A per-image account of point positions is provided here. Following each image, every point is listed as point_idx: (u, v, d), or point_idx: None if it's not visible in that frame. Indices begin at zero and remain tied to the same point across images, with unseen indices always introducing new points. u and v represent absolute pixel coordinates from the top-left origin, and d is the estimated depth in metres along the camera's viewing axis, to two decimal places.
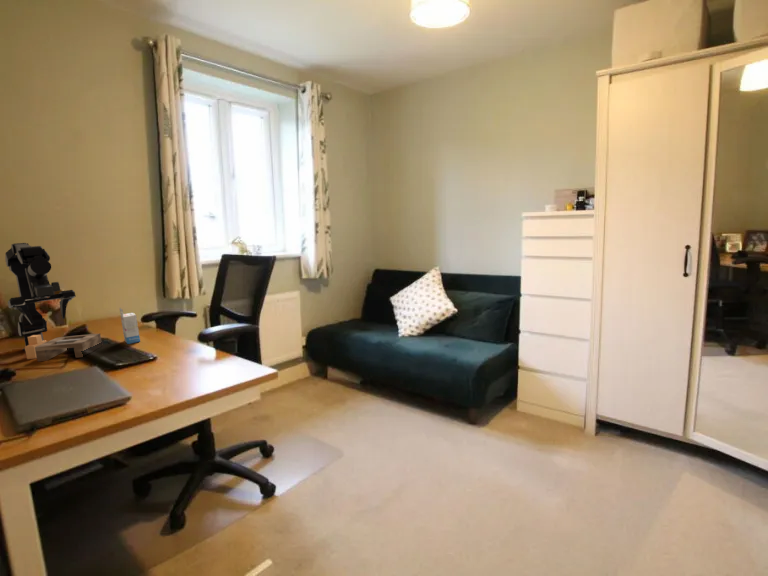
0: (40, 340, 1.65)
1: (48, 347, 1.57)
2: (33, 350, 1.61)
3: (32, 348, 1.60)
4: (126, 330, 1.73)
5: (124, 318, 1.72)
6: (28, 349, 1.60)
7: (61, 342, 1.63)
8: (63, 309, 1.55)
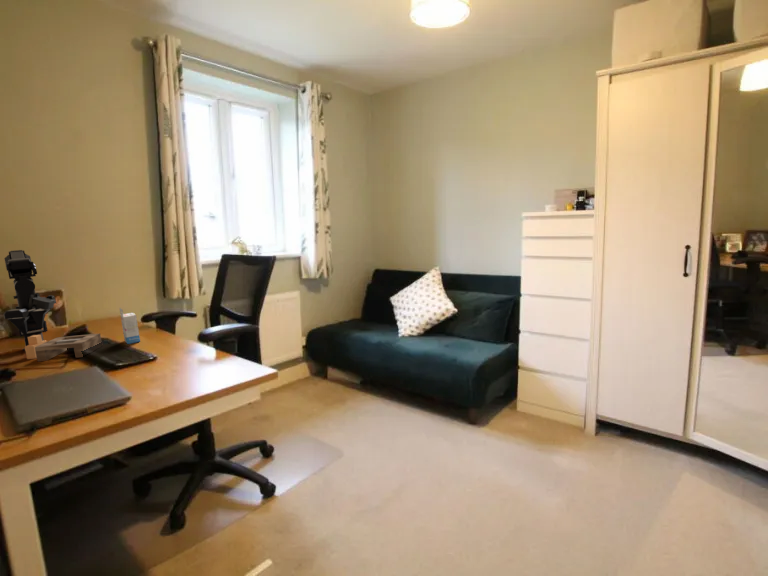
0: (40, 340, 1.65)
1: (48, 347, 1.57)
2: (33, 350, 1.61)
3: (32, 348, 1.60)
4: (126, 330, 1.73)
5: (124, 318, 1.72)
6: (28, 349, 1.60)
7: (61, 342, 1.63)
8: (43, 319, 1.68)
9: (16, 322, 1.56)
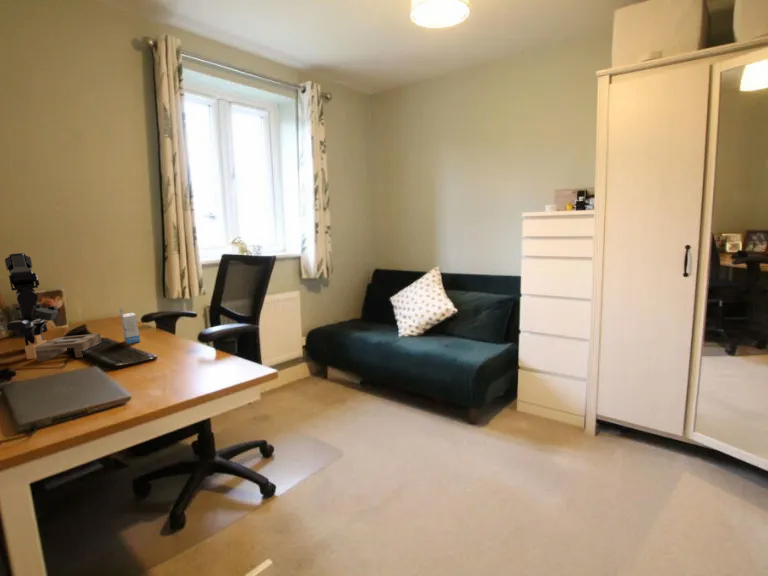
0: (40, 340, 1.65)
1: (48, 347, 1.57)
2: (33, 350, 1.61)
3: (32, 348, 1.60)
4: (126, 330, 1.73)
5: (124, 318, 1.72)
6: (28, 349, 1.60)
7: (61, 342, 1.63)
8: (40, 332, 1.66)
9: (24, 331, 1.60)
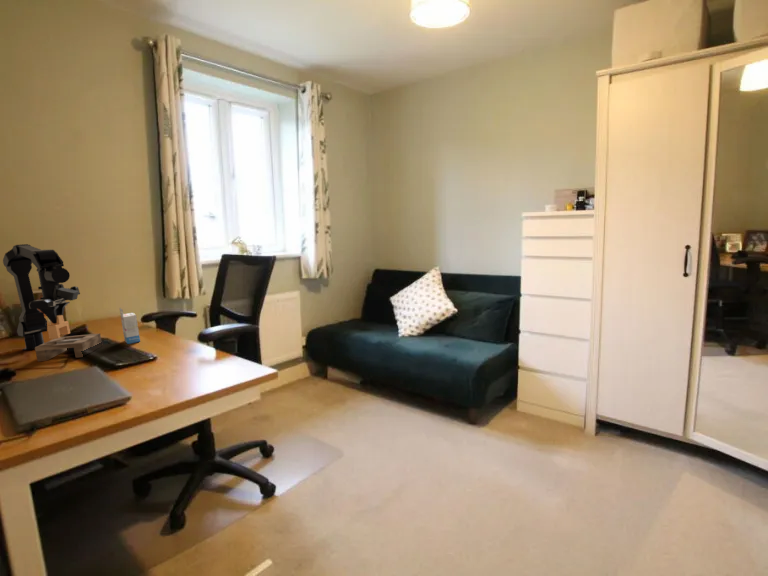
0: (62, 320, 1.63)
1: (48, 347, 1.57)
2: (55, 330, 1.59)
3: (54, 328, 1.59)
4: (126, 330, 1.73)
5: (124, 318, 1.72)
6: (50, 329, 1.59)
7: (61, 342, 1.63)
8: (62, 312, 1.64)
9: (46, 311, 1.58)
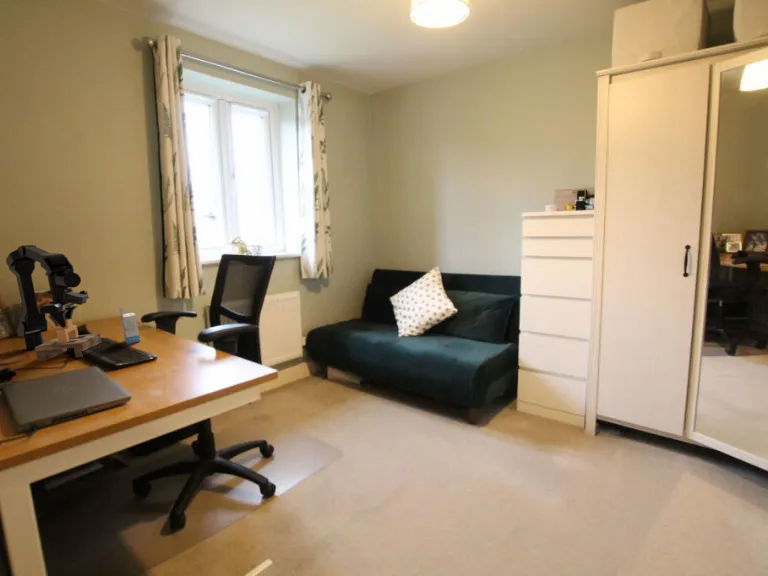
0: (71, 324, 1.64)
1: (48, 347, 1.57)
2: (64, 334, 1.60)
3: (63, 332, 1.60)
4: (126, 330, 1.73)
5: (124, 318, 1.72)
6: (59, 333, 1.59)
7: None
8: (71, 316, 1.65)
9: (55, 315, 1.59)
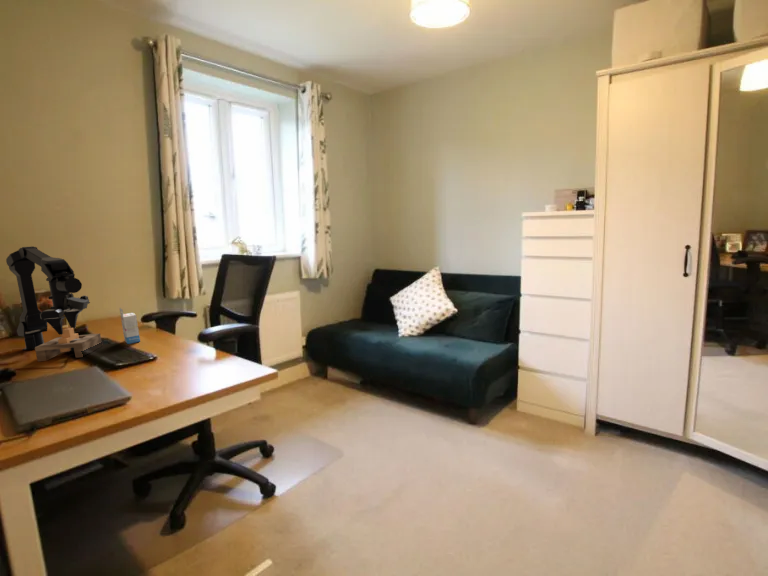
0: (72, 333, 1.64)
1: (48, 347, 1.57)
2: None
3: (65, 341, 1.60)
4: (126, 330, 1.73)
5: (124, 318, 1.72)
6: (61, 342, 1.60)
7: None
8: (75, 320, 1.68)
9: (52, 322, 1.57)
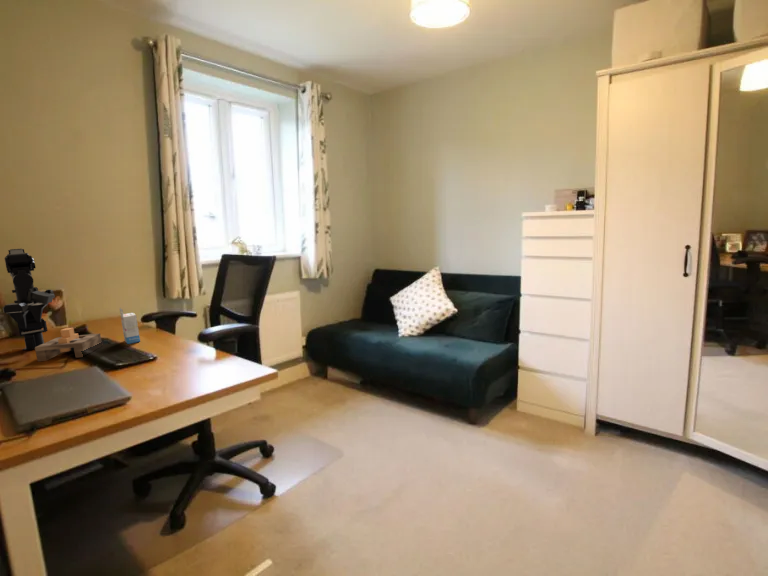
0: (72, 333, 1.64)
1: (48, 347, 1.57)
2: None
3: (65, 341, 1.60)
4: (126, 330, 1.73)
5: (124, 318, 1.72)
6: (61, 342, 1.60)
7: None
8: (41, 313, 1.68)
9: (15, 316, 1.56)
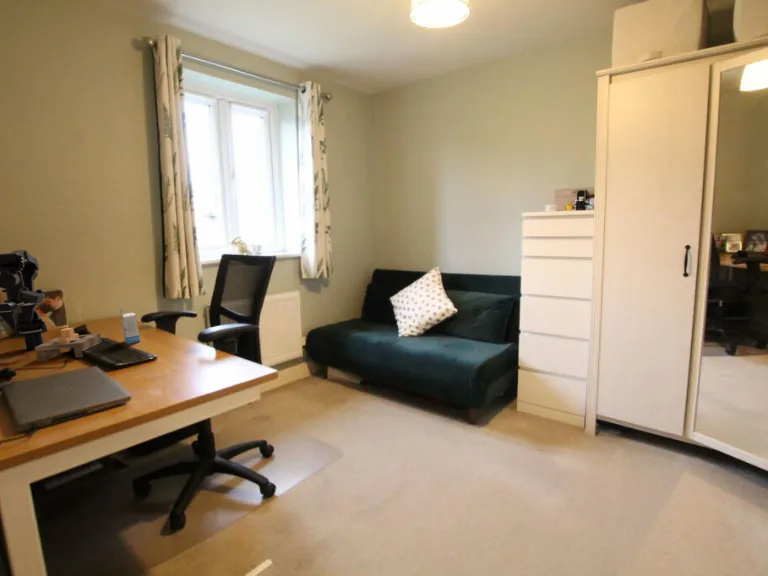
0: (72, 333, 1.64)
1: (48, 347, 1.57)
2: None
3: (65, 341, 1.60)
4: (126, 330, 1.73)
5: (124, 318, 1.72)
6: (61, 342, 1.60)
7: None
8: (32, 313, 1.68)
9: (4, 316, 1.56)
